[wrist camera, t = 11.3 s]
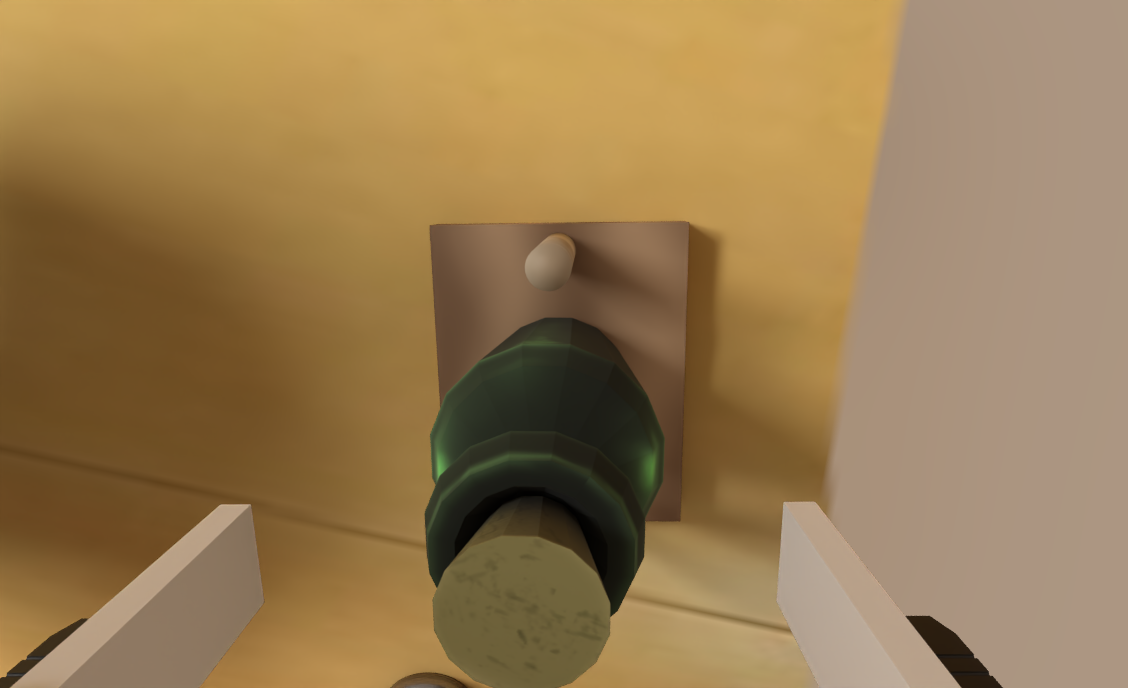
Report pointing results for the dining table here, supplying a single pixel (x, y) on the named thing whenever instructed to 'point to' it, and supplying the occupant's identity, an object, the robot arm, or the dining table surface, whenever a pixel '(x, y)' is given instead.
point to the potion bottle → (539, 504)
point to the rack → (572, 304)
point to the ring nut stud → (428, 681)
